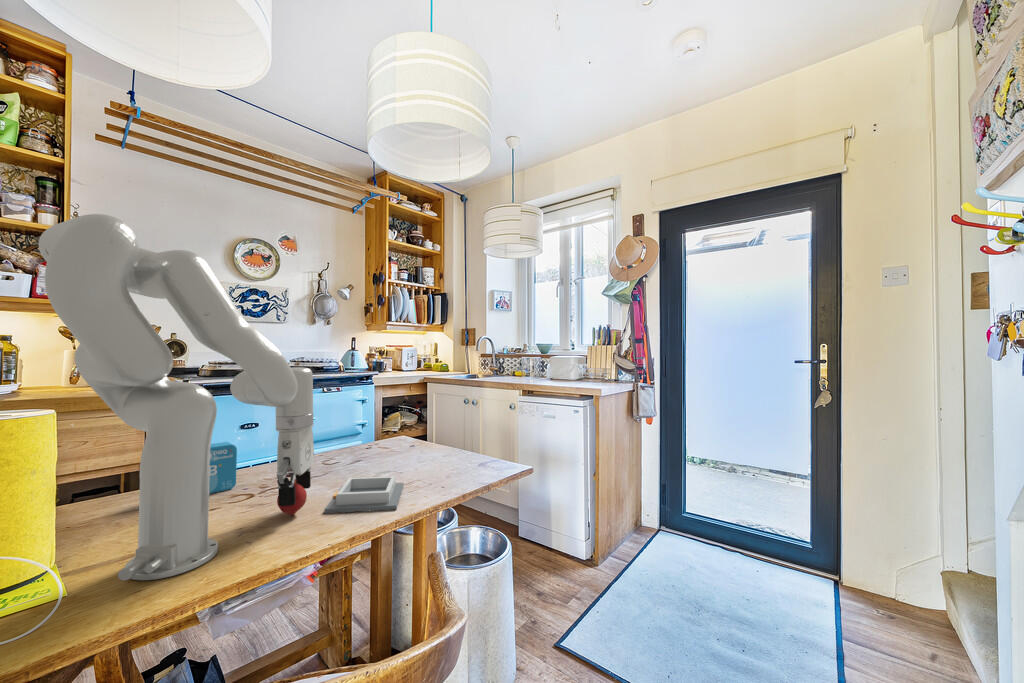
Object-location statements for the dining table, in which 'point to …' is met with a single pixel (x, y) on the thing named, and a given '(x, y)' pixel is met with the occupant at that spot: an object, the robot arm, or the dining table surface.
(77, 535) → the dining table surface
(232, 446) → the data package
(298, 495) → the onion
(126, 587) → the dining table surface
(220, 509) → the dining table surface
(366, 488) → the tray
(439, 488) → the dining table surface
